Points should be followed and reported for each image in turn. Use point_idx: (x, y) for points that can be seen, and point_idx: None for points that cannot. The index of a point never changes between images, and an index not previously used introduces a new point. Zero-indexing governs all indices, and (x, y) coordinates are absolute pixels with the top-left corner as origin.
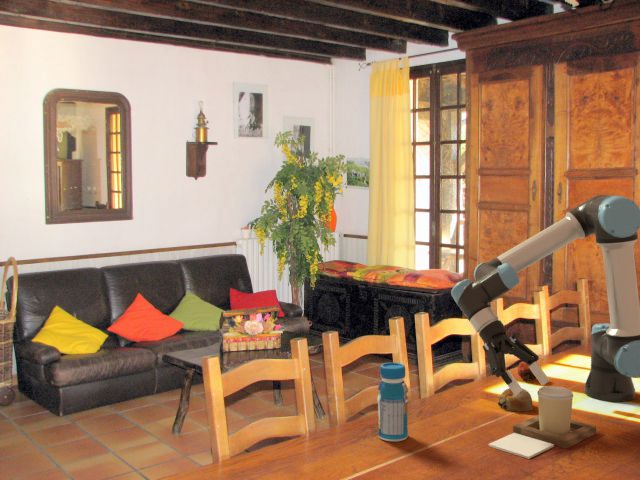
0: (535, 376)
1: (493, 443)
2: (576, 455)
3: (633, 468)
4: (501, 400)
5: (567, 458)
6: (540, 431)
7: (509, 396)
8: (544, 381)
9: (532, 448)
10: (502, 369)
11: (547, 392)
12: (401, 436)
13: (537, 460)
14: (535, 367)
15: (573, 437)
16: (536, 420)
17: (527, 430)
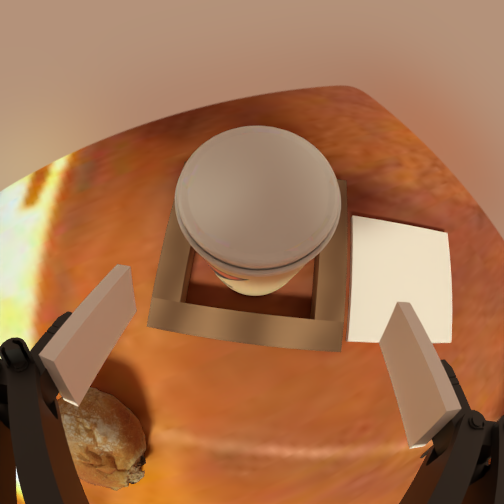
0: (109, 351)
1: (443, 336)
2: (358, 163)
3: (333, 86)
4: (135, 477)
5: (386, 173)
6: (329, 261)
7: (119, 460)
8: (128, 292)
9: (410, 245)
10: (485, 424)
11: (303, 207)
12: None
13: (436, 218)
14: (80, 351)
15: None
16: (239, 316)
17: (344, 298)
